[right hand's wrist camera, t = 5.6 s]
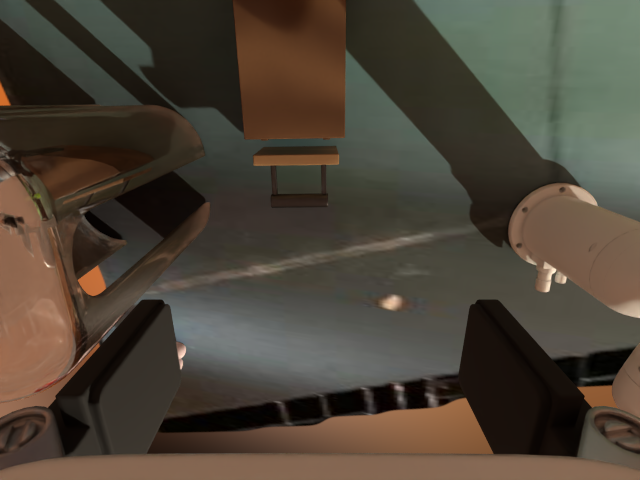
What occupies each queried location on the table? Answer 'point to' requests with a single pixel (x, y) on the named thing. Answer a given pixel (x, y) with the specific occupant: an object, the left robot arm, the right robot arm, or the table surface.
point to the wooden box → (291, 67)
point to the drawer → (297, 157)
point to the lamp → (75, 228)
